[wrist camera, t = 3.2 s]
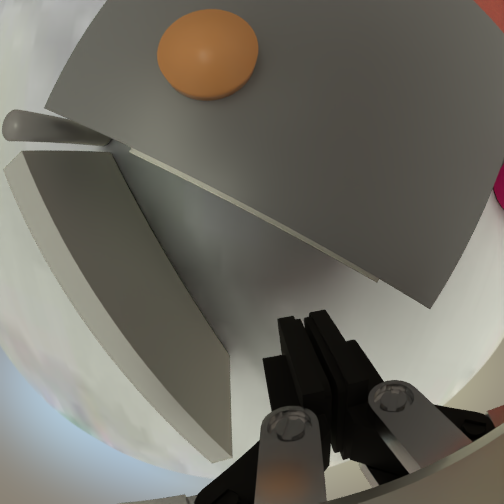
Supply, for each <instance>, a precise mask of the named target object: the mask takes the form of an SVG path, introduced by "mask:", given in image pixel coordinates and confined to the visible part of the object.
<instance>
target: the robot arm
mask: <svg viewBox="0 0 504 504" xmlns="http://www.w3.org/2000/svg"><path fill="white" fill-rule="evenodd" d="M304 325H305V328H304V326H303V324H302V321H301V319H295V318H294V316H289V317H284V318H278V328H279V335H280V343H281V351H282V355H279V356H274V357H268V358H263V364H264V370H265V376H266V382H267V388H268V394H269V399H270V405H271V410H272V412H271V413H269V414H268V415H267V416H266V417H265V418H264V420H263V422H262V425H261V431H260V440H259V441H258V442H257V443H256V444H255V445H254V446H253V447H252V448H251V449H249V450H248V451H247V452H246V453H245V454H244V455H243V456H242V457H241V458H239V459H238V460H237V461H236V462H235V463H234V464H233V465H231V466H230V467H229V468H228V469H227V470H226V471H224V472H223V473H222V474H221V475H220V476H218V477H217V478H216V479H215V480H213V481H212V482H211V483H210V484H209V485H207V486H206V487H205V488H204V489H202V490H201V492H200V493H199V494H198V495H195V496H190V497H186V495H179V496H173V497H167V498H160V499H153V500H146V501H137V502H126V503H119V504H504V405H503V406H500V407H497V408H495V409H492V410H489V411H487V412H486V415H484V414H481V413H478V412H473V411H467V410H461V409H454V408H449V407H444V406H439V405H434V404H432V403H431V402H430V401H429V400H428V399H427V398H426V397H425V396H424V395H423V394H422V393H420V392H419V391H418V390H417V389H416V388H415V387H414V386H412V385H411V384H410V383H407V382H404V381H398V380H391V381H386V382H384V381H383V380H382V378H381V377H380V375H379V374H378V372H377V371H376V369H375V368H374V366H373V365H372V363H371V362H370V360H369V359H368V358H367V356H366V355H365V353H364V352H363V350H362V349H361V347H360V346H359V344H358V343H357V342H356V341H355V340H350V341H345V339H344V338H343V336H342V335H341V333H340V332H339V330H338V328H337V327H336V325H335V324H334V322H333V321H332V319H331V318H330V316H329V314H328V313H327V311H326V310H320V311H315V312H310V313H309V317H306V318H304ZM331 445H332V448H333V451H334V452H335V453H337V452H340V453H341V456H342V459H343V460H344V459H348V458H350V460H353V461H357V462H359V467H360V469H361V471H362V472H363V474H364V476H365V477H366V479H367V480H368V482H369V483H370V485H371V486H372V488H371V489H368V490H365V491H362V492H359V493H355V494H352V495H349V496H345V497H341V498H338V499H334V500H330V501H327V500H326V489H325V477H324V471H325V470H326V469H327V467H328V466H329V462H330V447H331Z"/></svg>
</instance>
